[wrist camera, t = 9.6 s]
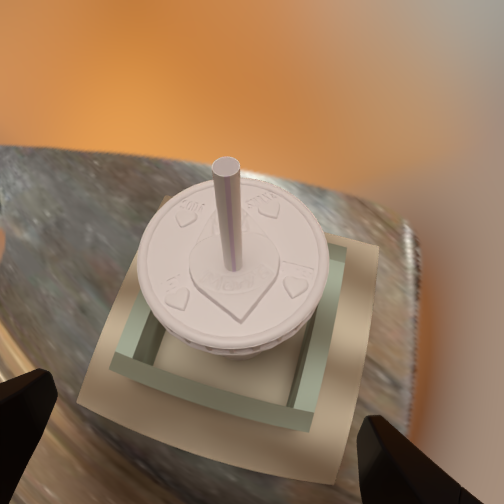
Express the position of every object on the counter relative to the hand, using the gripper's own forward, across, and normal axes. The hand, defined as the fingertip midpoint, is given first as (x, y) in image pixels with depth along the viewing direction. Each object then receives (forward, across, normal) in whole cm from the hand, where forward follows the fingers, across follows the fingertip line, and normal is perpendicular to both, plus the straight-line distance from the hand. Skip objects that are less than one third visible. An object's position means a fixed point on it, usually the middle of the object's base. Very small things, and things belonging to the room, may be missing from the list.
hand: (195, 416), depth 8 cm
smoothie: (+11, 0, +4) cm, 11 cm away
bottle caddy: (+12, 0, +4) cm, 12 cm away
